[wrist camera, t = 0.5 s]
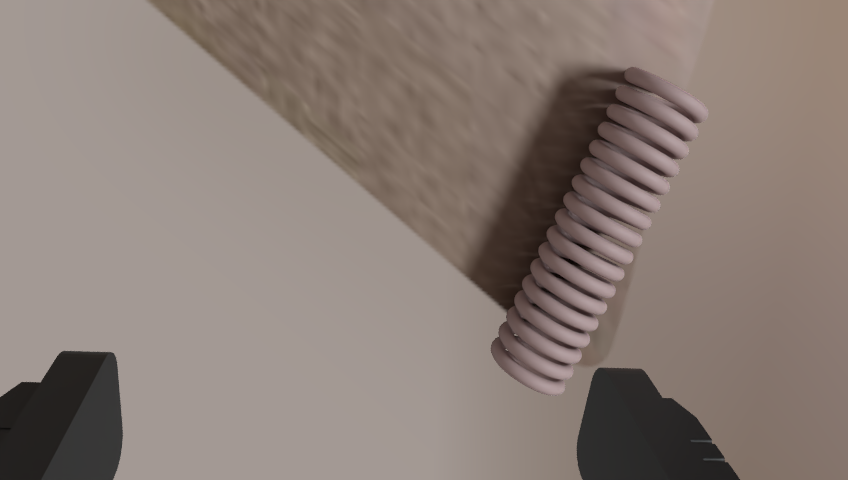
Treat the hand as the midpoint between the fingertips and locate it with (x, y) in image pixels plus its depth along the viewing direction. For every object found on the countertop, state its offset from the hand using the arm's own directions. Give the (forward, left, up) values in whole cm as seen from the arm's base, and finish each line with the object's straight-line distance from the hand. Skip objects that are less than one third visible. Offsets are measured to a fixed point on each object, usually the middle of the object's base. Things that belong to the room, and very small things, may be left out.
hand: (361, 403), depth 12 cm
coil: (-1, +12, -28) cm, 30 cm away
